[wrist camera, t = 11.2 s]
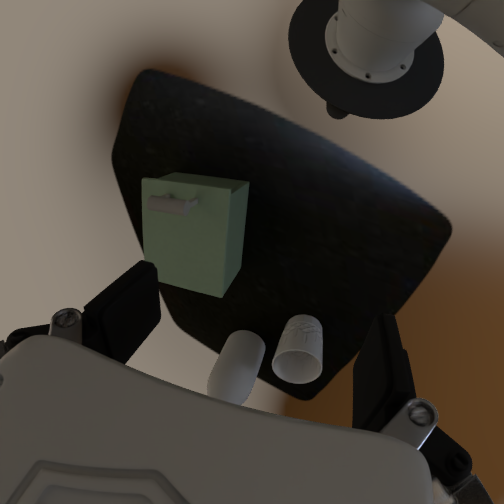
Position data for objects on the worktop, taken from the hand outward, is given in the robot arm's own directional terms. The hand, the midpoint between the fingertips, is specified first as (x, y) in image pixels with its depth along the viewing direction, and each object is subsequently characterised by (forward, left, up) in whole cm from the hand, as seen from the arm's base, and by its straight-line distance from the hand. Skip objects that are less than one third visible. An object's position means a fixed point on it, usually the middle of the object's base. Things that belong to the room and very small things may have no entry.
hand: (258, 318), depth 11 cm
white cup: (+26, +4, -32) cm, 42 cm away
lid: (+9, -15, -23) cm, 29 cm away
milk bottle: (+33, -6, -32) cm, 47 cm away
